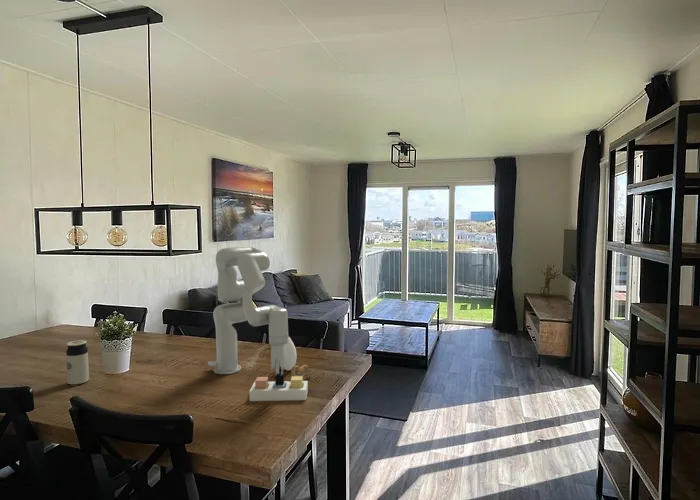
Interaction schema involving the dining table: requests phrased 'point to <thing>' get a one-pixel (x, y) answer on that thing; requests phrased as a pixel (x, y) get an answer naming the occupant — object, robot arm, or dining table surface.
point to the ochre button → (296, 381)
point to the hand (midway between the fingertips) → (279, 384)
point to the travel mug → (77, 362)
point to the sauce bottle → (290, 355)
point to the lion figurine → (300, 371)
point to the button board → (279, 392)
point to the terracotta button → (261, 383)
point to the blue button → (280, 385)
